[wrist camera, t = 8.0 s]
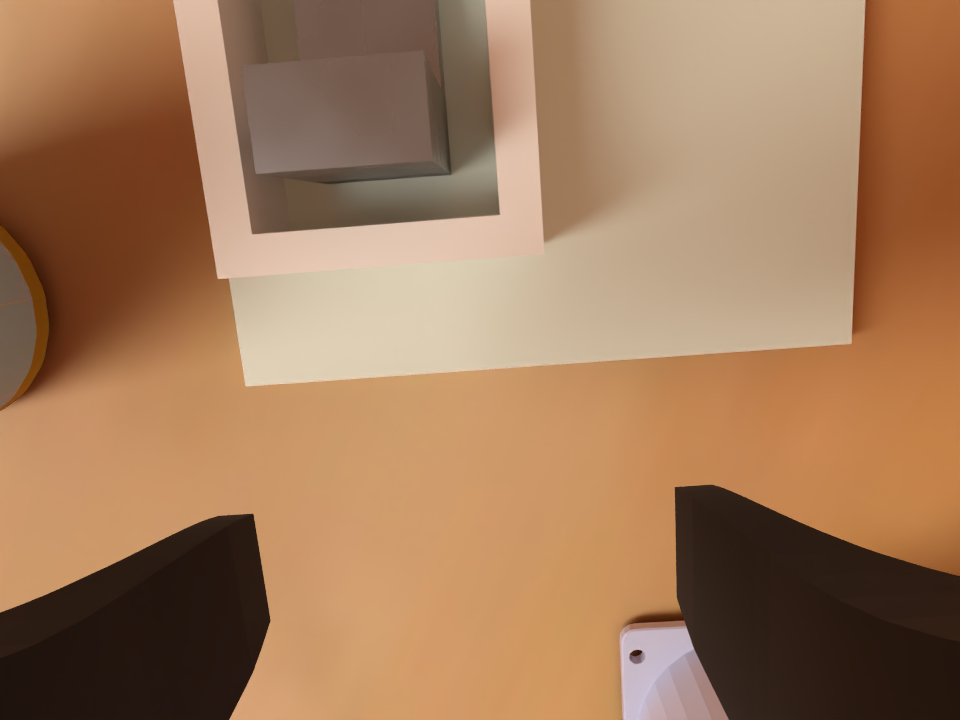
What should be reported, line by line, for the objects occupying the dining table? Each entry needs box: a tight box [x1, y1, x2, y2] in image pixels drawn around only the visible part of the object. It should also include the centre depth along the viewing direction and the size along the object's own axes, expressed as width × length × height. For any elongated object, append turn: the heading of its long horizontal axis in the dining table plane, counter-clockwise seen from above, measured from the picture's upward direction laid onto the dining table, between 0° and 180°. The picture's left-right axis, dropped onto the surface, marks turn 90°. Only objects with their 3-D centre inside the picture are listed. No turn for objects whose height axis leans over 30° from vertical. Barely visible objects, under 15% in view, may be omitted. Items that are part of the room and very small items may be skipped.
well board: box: [173, 0, 865, 386], centre depth 18 cm, size 14×18×4 cm
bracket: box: [241, 0, 452, 184], centre depth 16 cm, size 5×4×6 cm
